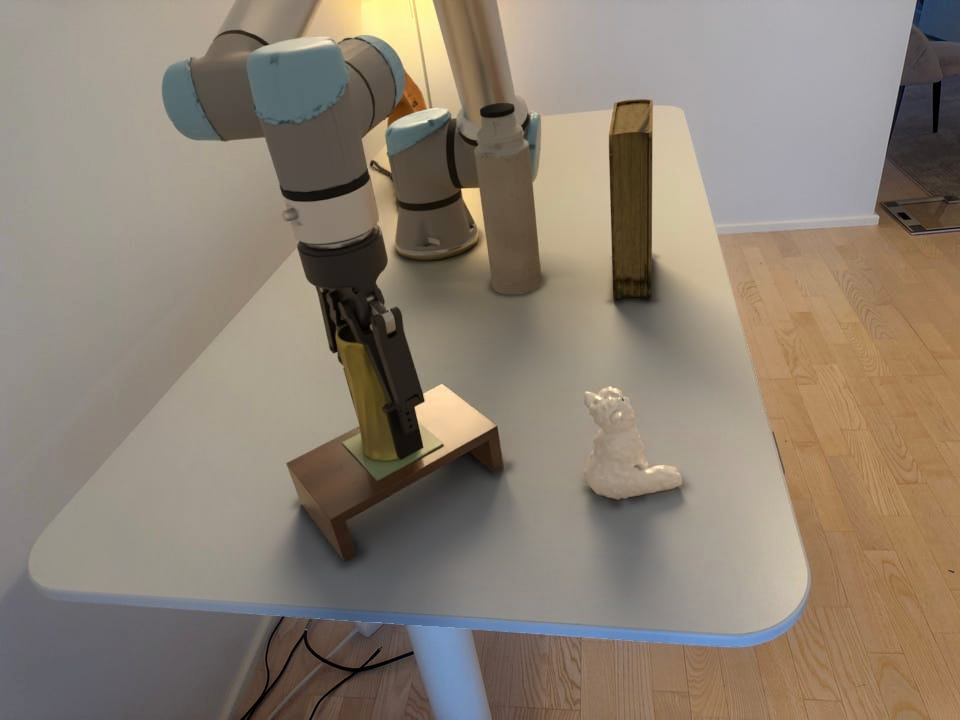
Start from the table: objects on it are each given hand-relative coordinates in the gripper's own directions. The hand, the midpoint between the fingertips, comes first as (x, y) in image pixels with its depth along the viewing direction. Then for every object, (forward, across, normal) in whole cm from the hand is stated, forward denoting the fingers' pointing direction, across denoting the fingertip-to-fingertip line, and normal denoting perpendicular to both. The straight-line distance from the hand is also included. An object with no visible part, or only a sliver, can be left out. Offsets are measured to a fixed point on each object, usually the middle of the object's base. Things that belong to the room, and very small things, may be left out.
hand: (389, 431), depth 75 cm
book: (+8, -15, +51) cm, 54 cm away
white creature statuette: (+8, +16, +18) cm, 25 cm away
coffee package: (+8, -91, +57) cm, 108 cm away
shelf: (+8, 0, 0) cm, 8 cm away
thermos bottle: (+8, -28, +38) cm, 48 cm away
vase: (+2, 0, 0) cm, 2 cm away
